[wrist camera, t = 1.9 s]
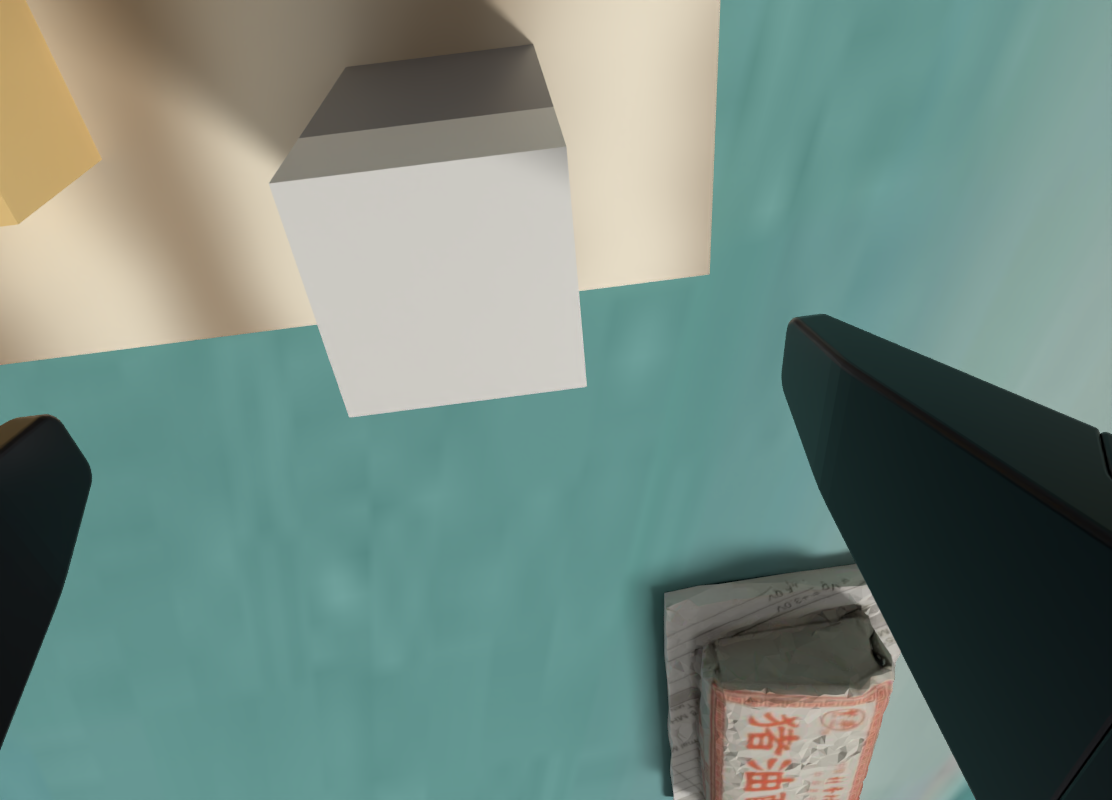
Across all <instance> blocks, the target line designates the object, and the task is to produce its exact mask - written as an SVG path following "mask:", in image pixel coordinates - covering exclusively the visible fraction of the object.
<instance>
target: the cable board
mask: <svg viewBox="0 0 1112 800" xmlns="http://www.w3.org/2000/svg"><path fill="white" fill-rule="evenodd" d="M26 2H27V4H28V6H29V8H30V10H31V12H32V14H33V16H34V19H35V21H36V23H37V25H38V27H39V29H40V31H41V33H42V35H43V37H44V39H45V41H46V44H47V46H48V48H49V50H50V52H51V54H52V56H53V58H54V60H55V62H56V64H57V67H58V69H59V71H60V73H61V75H62V77H63V79H64V81H65V83H66V85H67V87H68V89H69V92H70V94H71V96H72V98H73V100H74V102H75V104H76V106H77V108H78V110H79V112H80V115H81V117H82V119H83V121H84V123H85V125H86V127H87V129H88V131H89V133H90V135H91V137H92V140H93V142H94V144H95V146H96V148H97V150H98V152H99V154H100V156H101V158H102V160H101V161H100V162H98V163H97V164H96V165H94V166H93V167H92V168H91V169H89V170H88V171H87V172H85V173H84V174H83V175H81V176H80V177H79V178H78V179H76V180H75V181H74V182H72V183H71V184H70V185H69V186H67V187H66V188H65V189H63V190H62V191H61V192H60V193H58V194H57V195H56V196H54V197H53V198H52V199H51V200H49V201H48V202H47V203H45V204H44V205H43V206H41V207H40V208H39V209H38V210H36V211H35V212H34V213H32V214H31V215H30V216H29V217H27V218H26V219H25V220H23V221H22V222H21V223H20V224H18V225H10V226H2V227H0V365H3V364H11V363H19V362H27V361H34V360H42V359H50V358H58V357H66V356H74V355H81V354H89V353H97V352H105V351H113V350H121V349H128V348H136V347H144V346H152V345H160V344H168V343H175V342H183V341H191V340H199V339H207V338H215V337H222V336H230V335H238V334H246V333H254V332H262V331H269V330H277V329H285V328H293V327H301V326H309V325H316V324H317V322H316V319H315V316H314V314H313V311H312V308H311V305H310V302H309V299H308V296H307V293H306V290H305V288H304V285H303V282H302V279H301V276H300V273H299V270H298V267H297V264H296V261H295V259H294V256H293V253H292V250H291V247H290V244H289V241H288V238H287V235H286V232H285V230H284V227H283V224H282V221H281V218H280V215H279V212H278V209H277V206H276V204H275V201H274V198H273V195H272V192H271V189H270V186H269V182H270V181H271V179H272V178H273V176H274V175H275V173H276V172H277V170H278V169H279V167H280V166H281V164H282V163H283V161H284V160H285V158H286V157H287V155H288V154H289V152H290V151H291V149H292V148H293V146H294V145H295V143H296V142H297V140H298V139H299V137H300V135H301V134H302V132H303V131H304V129H305V128H306V126H307V125H308V123H309V122H310V120H311V119H312V117H313V116H314V114H315V113H316V111H317V110H318V108H319V107H320V105H321V104H322V102H323V101H324V99H325V98H326V96H327V95H328V93H329V92H330V90H331V89H332V87H333V86H334V84H335V83H336V81H337V80H338V78H339V77H340V75H341V74H342V72H343V71H344V69H345V67H350V66H358V65H366V64H375V63H383V62H391V61H399V60H407V59H415V58H424V57H432V56H440V55H448V54H456V53H464V52H473V51H481V50H489V49H497V48H505V47H513V46H522V45H530V44H533V45H534V48H535V51H536V54H537V57H538V60H539V63H540V66H541V69H542V72H543V76H544V79H545V82H546V85H547V88H548V91H549V94H550V97H551V100H552V103H553V106H554V109H555V113H556V116H557V119H558V122H559V125H560V128H561V131H562V134H563V137H564V140H565V143H566V147H567V158H568V170H569V182H570V194H571V206H572V217H573V229H574V241H575V253H576V265H577V276H578V288H579V291H583V290H591V289H598V288H606V287H614V286H622V285H630V284H638V283H645V282H653V281H661V280H669V279H677V278H685V277H692V276H700V275H708V274H709V273H710V248H711V222H712V197H713V171H714V146H715V120H716V95H717V69H718V44H719V19H720V0H26Z"/></svg>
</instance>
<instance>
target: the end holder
mask: <svg viewBox="0 0 1112 800" xmlns="http://www.w3.org/2000/svg"><path fill="white" fill-rule="evenodd" d="M101 160H102V158H101V156H100V154H99V152H98V150H97V148H96V146H95V144H94V142H93V140H92V137H91V135H90V133H89V131H88V129H87V127H86V125H85V123H84V121H83V119H82V117H81V115H80V112H79V110H78V108H77V106H76V104H75V102H74V100H73V98H72V96H71V94H70V92H69V89H68V87H67V85H66V83H65V81H64V79H63V77H62V75H61V73H60V71H59V69H58V67H57V64H56V62H55V60H54V58H53V56H52V54H51V52H50V50H49V48H48V46H47V44H46V41H45V39H44V37H43V35H42V33H41V31H40V29H39V27H38V25H37V23H36V21H35V19H34V16H33V14H32V12H31V10H30V8H29V6H28V4H27V2H26V0H0V227H2V226H10V225H18V224H20V223H21V222H22V221H23V220H25V219H26V218H27V217H29V216H30V215H31V214H32V213H34V212H35V211H36V210H38V209H39V208H40V207H41V206H43V205H44V204H45V203H47V202H48V201H49V200H51V199H52V198H53V197H54V196H56V195H57V194H58V193H60V192H61V191H62V190H63V189H65V188H66V187H67V186H69V185H70V184H71V183H72V182H74V181H75V180H76V179H78V178H79V177H80V176H81V175H83V174H84V173H85V172H87V171H88V170H89V169H91V168H92V167H93V166H94V165H96V164H97V163H98V162H100V161H101Z"/></svg>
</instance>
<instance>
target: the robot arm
mask: <svg viewBox="0 0 1112 800" xmlns="http://www.w3.org/2000/svg"><path fill="white" fill-rule="evenodd" d="M782 386H783V391H784V394H785V397H786V400H787V402H788V405H789V408H790V411H791V414H792V416H793V419H794V422H795V425H796V428H797V430H798V433H799V436H800V439H801V442H802V444H803V447H804V450H805V453H806V456H807V458H808V461H809V464H810V467H811V470H812V472H813V475H814V478H815V480H816V483H817V485H818V488H819V490H820V492H821V495H822V497H823V499H824V501H825V503H826V505H827V507H828V509H829V511H830V513H831V515H832V517H833V519H834V521H835V523H836V525H837V527H838V529H839V531H840V533H841V535H842V537H843V539H844V541H845V543H846V545H847V547H848V549H849V551H850V553H851V554H852V556H853V558H854V560H855V562H856V564H857V566H858V568H859V570H860V572H861V574H862V576H863V578H864V580H865V582H866V584H867V586H868V588H869V590H870V592H871V594H872V596H873V598H874V600H875V602H876V604H877V606H878V608H879V610H880V612H881V614H882V616H883V618H884V620H885V622H886V624H887V625H888V627H889V629H890V631H891V633H892V635H893V637H894V639H895V641H896V643H897V645H898V647H899V649H900V651H901V653H902V655H903V657H904V659H905V661H906V663H907V665H908V667H909V669H910V671H911V673H912V675H913V677H914V679H915V681H916V683H917V685H918V687H919V689H920V691H921V693H922V695H923V697H924V698H925V700H926V702H927V704H928V706H929V708H930V710H931V712H932V714H933V716H934V718H935V720H936V722H937V724H938V726H939V728H940V730H941V732H942V734H943V736H944V738H945V740H946V742H947V744H948V746H949V748H950V750H951V752H952V754H953V756H954V758H955V760H956V762H957V764H958V766H959V768H960V769H961V771H962V773H963V775H964V777H965V779H966V781H967V783H968V785H969V787H970V789H971V791H972V793H973V795H974V797H975V799H976V800H1112V434H1110V433H1108V432H1103V433H1101V434H1100V432H1099V430H1098V429H1097V428H1095V427H1093V426H1091V425H1088V424H1086V423H1083V422H1081V421H1079V420H1076V419H1074V418H1072V417H1069V416H1067V415H1064V414H1062V413H1060V412H1057V411H1055V410H1052V409H1050V408H1048V407H1045V406H1043V405H1041V404H1038V403H1036V402H1033V401H1031V400H1029V399H1026V398H1024V397H1021V396H1019V395H1017V394H1014V393H1012V392H1010V391H1007V390H1005V389H1002V388H1000V387H998V386H995V385H993V384H990V383H988V382H986V381H983V380H981V379H979V378H976V377H974V376H971V375H969V374H967V373H964V372H962V371H959V370H957V369H955V368H952V367H950V366H948V365H945V364H943V363H940V362H938V361H936V360H933V359H931V358H928V357H926V356H924V355H921V354H919V353H917V352H914V351H912V350H909V349H907V348H905V347H902V346H900V345H898V344H895V343H893V342H890V341H888V340H886V339H883V338H881V337H878V336H876V335H874V334H871V333H869V332H867V331H864V330H862V329H859V328H857V327H855V326H852V325H850V324H848V323H845V322H843V321H840V320H838V319H836V318H833V317H831V316H828V315H826V314H816V315H809V316H801V317H795V318H793V319H792V320H791V321H790V322H789V324H788V327H787V332H786V340H785V348H784V357H783V365H782ZM91 483H92V474H91V469H90V466H89V463H88V462H87V460H86V458H85V457H84V455H83V454H82V452H81V451H80V449H79V448H78V446H77V445H76V443H75V442H74V440H73V439H72V437H71V436H70V434H69V433H68V431H67V429H66V428H65V426H64V425H63V424H62V422H61V421H60V420H59V419H57V418H56V417H54V416H52V415H48V414H44V415H35V416H27V417H19V418H15V419H12V420H10V421H8V422H6V423H4V424H3V425H1V426H0V749H1V747H2V744H3V742H4V739H5V737H6V734H7V732H8V729H9V727H10V724H11V721H12V719H13V716H14V714H15V711H16V709H17V706H18V704H19V701H20V699H21V696H22V693H23V691H24V688H25V686H26V683H27V681H28V678H29V676H30V673H31V671H32V668H33V665H34V663H35V660H36V658H37V655H38V653H39V650H40V648H41V645H42V643H43V640H44V637H45V635H46V632H47V630H48V627H49V625H50V622H51V620H52V617H53V615H54V612H55V609H56V607H57V604H58V601H59V598H60V596H61V593H62V590H63V587H64V583H65V580H66V577H67V573H68V570H69V566H70V562H71V558H72V555H73V551H74V547H75V543H76V540H77V536H78V532H79V528H80V525H81V521H82V517H83V514H84V510H85V506H86V502H87V499H88V495H89V491H90V487H91Z"/></svg>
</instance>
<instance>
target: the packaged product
mask: <svg viewBox="0 0 1112 800" xmlns="http://www.w3.org/2000/svg"><path fill="white" fill-rule="evenodd" d="M900 653H901V651H900V649H899V647H898V645H897V643H896V641H895V639H894V637H893V635H892V633H891V631H890V629H889V627H888V625H887V624H886V622H885V620H884V618H883V616H882V614H881V612H880V610H879V608H878V606H877V604H876V602H875V600H874V598H873V596H872V594H871V592H870V590H869V588H868V586H867V584H866V582H865V580H864V578H863V576H862V574H861V572H860V570H859V568H858V566H857V564H851V565H844V566H837V567H830V568H823V569H817V570H809V571H801V572H793V573H786V574H780V575H773V576H767V577H761V578H754V579H748V580H742V581H736V582H729V583H723V584H714V585H700V586H696V587H691V588H686V589H681V590H677V591H672V592H667V593H664V658H665V666H666V673H667V685H668V704H669V712H668V723H667V725H668V731H669V732H668V737H669V742H670V747H671V763H670V775H671V781H672V787H673V793H674V798H673V800H859V799H860V798H859V796H860V794H861V790H862V788H863V780H864V779H865V778H866V775H867V772H868V766H869V763H870V761H871V757H872V753H873V750H874V747H875V744H876V741H877V738H878V735H879V730H880V727H881V722H882V717H883V713H884V711H885V709H886V707H887V705H888V703H889V699H890V695H891V692H892V690H893V682H894V680H895V663H896V661H897V659H898V657H899V655H900Z"/></svg>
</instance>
